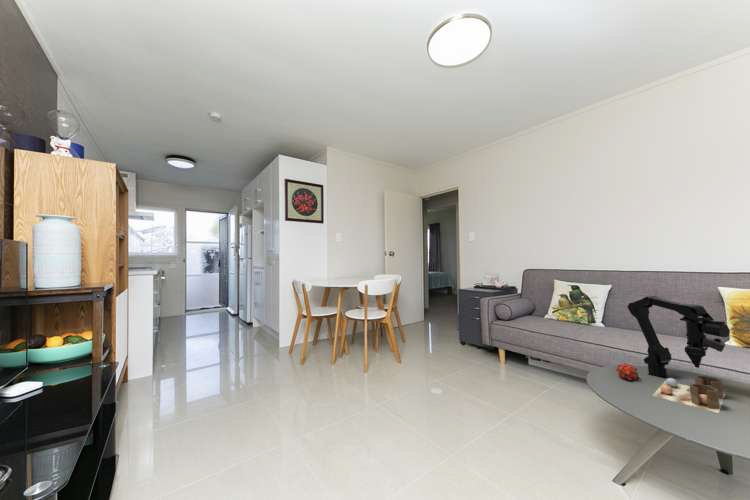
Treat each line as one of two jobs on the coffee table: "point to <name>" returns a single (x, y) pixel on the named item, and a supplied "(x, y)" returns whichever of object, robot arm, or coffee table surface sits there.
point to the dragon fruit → (627, 371)
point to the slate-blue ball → (672, 382)
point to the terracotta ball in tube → (703, 399)
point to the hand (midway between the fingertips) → (698, 365)
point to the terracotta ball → (666, 389)
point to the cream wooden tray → (697, 393)
